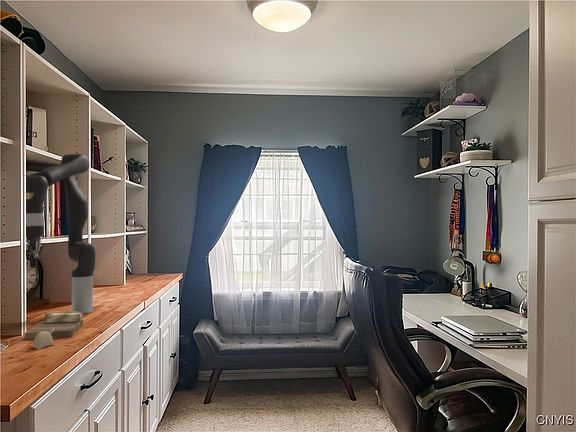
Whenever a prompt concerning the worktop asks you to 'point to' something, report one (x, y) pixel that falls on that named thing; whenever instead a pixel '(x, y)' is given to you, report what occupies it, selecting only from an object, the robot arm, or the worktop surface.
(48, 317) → the ash leg
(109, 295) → the worktop surface
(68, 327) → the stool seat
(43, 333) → the decorative ornament
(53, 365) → the worktop surface
